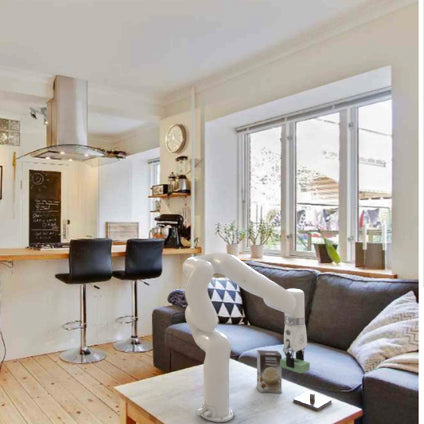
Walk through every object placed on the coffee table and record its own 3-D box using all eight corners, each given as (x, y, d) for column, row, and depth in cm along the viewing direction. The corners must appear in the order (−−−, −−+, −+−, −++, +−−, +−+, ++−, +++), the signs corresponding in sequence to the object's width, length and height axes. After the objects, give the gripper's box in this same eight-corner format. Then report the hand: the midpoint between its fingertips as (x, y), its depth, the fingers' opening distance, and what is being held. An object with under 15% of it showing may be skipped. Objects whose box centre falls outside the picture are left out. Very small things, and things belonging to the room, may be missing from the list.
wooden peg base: (317, 411, 162) (317, 401, 162) (293, 402, 170) (293, 392, 170) (331, 403, 169) (331, 393, 168) (307, 394, 176) (307, 385, 176)
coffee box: (260, 392, 179) (259, 354, 179) (256, 386, 185) (256, 349, 185) (282, 393, 178) (281, 355, 178) (278, 386, 184) (277, 350, 184)
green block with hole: (301, 373, 163) (301, 365, 163) (280, 366, 170) (280, 359, 170) (309, 370, 167) (309, 362, 167) (288, 363, 174) (288, 356, 174)
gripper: (291, 326, 160) (292, 373, 160) (314, 318, 171) (315, 362, 171) (273, 322, 166) (274, 367, 166) (297, 315, 177) (297, 357, 177)
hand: (295, 364), depth 168 cm, fingers closed on green block with hole, 6 cm apart
